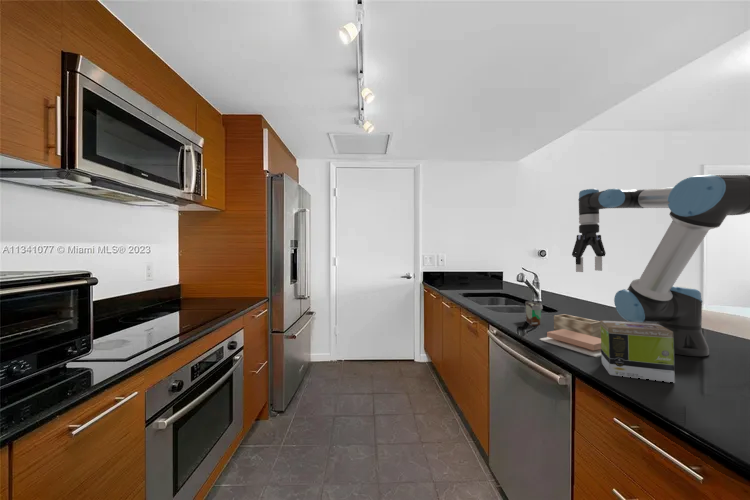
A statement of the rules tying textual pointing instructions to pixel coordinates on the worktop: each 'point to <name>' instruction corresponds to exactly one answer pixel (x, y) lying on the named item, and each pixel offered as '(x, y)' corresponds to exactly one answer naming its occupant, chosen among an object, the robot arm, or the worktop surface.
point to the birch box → (578, 325)
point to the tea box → (638, 350)
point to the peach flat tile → (576, 339)
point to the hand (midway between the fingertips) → (589, 271)
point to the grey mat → (573, 347)
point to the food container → (533, 313)
